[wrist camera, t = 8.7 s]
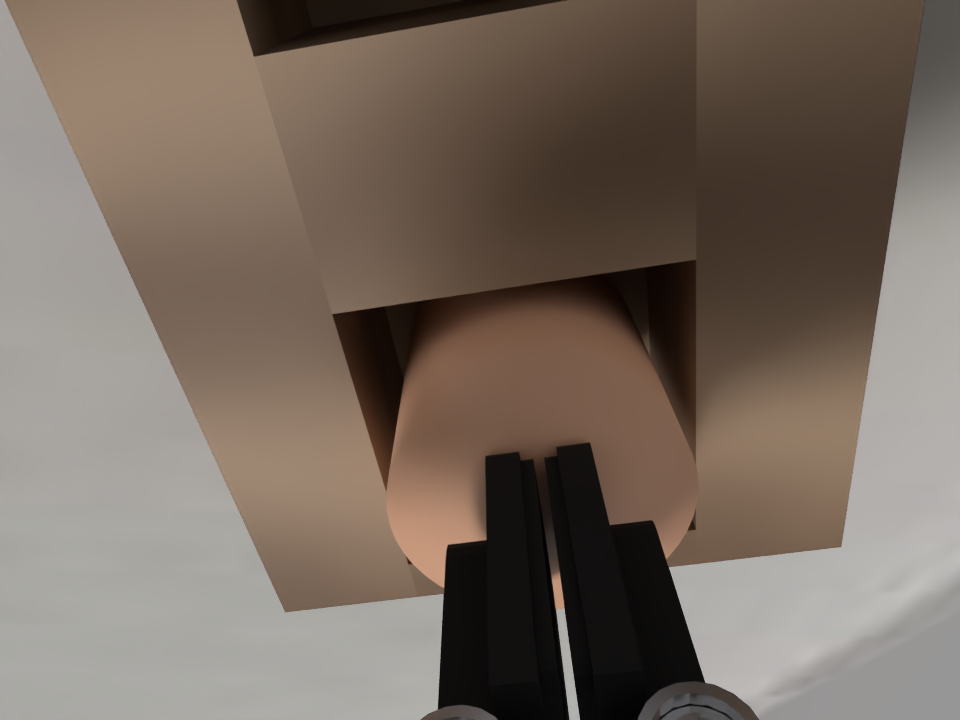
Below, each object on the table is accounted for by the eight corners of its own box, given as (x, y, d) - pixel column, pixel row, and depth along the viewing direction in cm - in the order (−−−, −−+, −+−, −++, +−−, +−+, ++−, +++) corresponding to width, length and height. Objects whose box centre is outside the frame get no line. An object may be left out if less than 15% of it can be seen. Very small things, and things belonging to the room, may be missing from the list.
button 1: (387, 264, 14) (351, 400, 10) (629, 228, 14) (698, 352, 10) (434, 452, 17) (420, 625, 12) (639, 425, 16) (697, 593, 12)
